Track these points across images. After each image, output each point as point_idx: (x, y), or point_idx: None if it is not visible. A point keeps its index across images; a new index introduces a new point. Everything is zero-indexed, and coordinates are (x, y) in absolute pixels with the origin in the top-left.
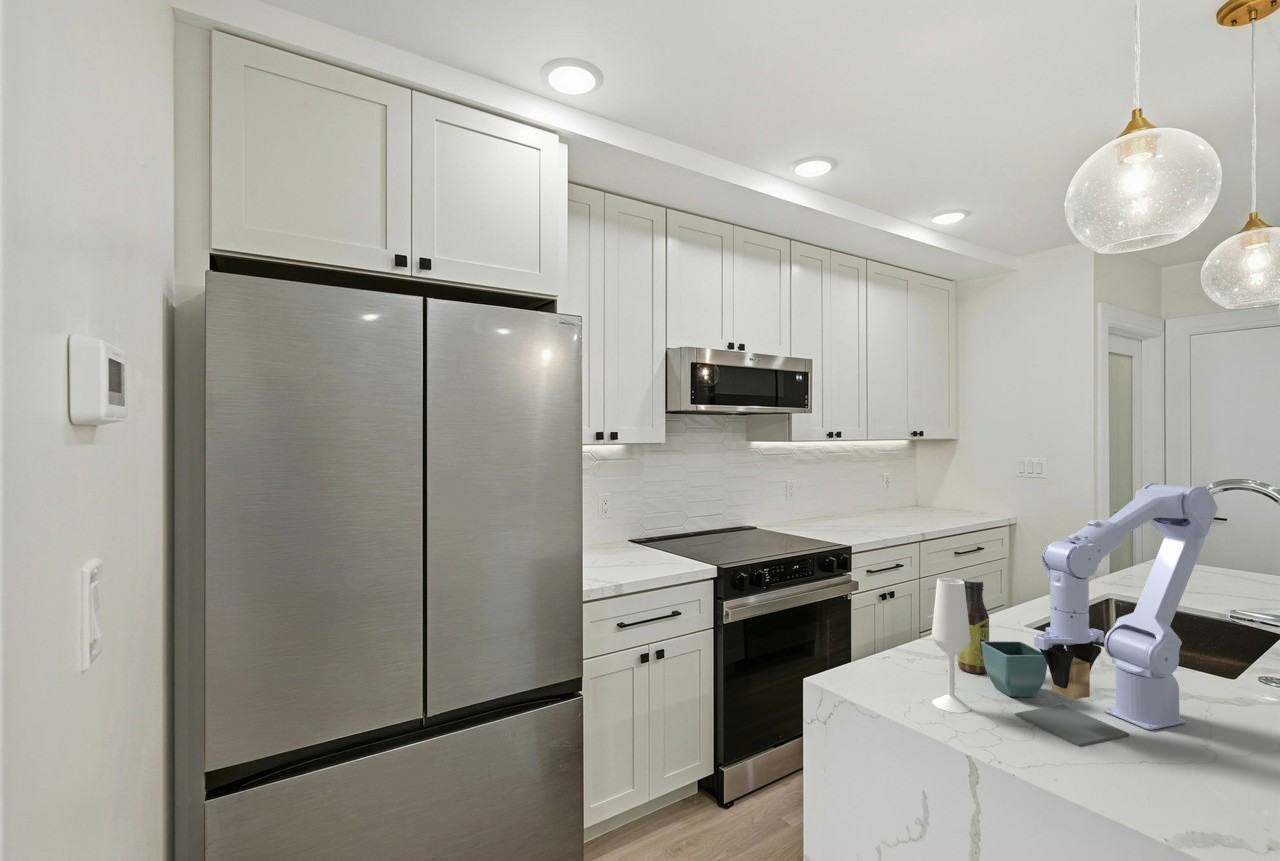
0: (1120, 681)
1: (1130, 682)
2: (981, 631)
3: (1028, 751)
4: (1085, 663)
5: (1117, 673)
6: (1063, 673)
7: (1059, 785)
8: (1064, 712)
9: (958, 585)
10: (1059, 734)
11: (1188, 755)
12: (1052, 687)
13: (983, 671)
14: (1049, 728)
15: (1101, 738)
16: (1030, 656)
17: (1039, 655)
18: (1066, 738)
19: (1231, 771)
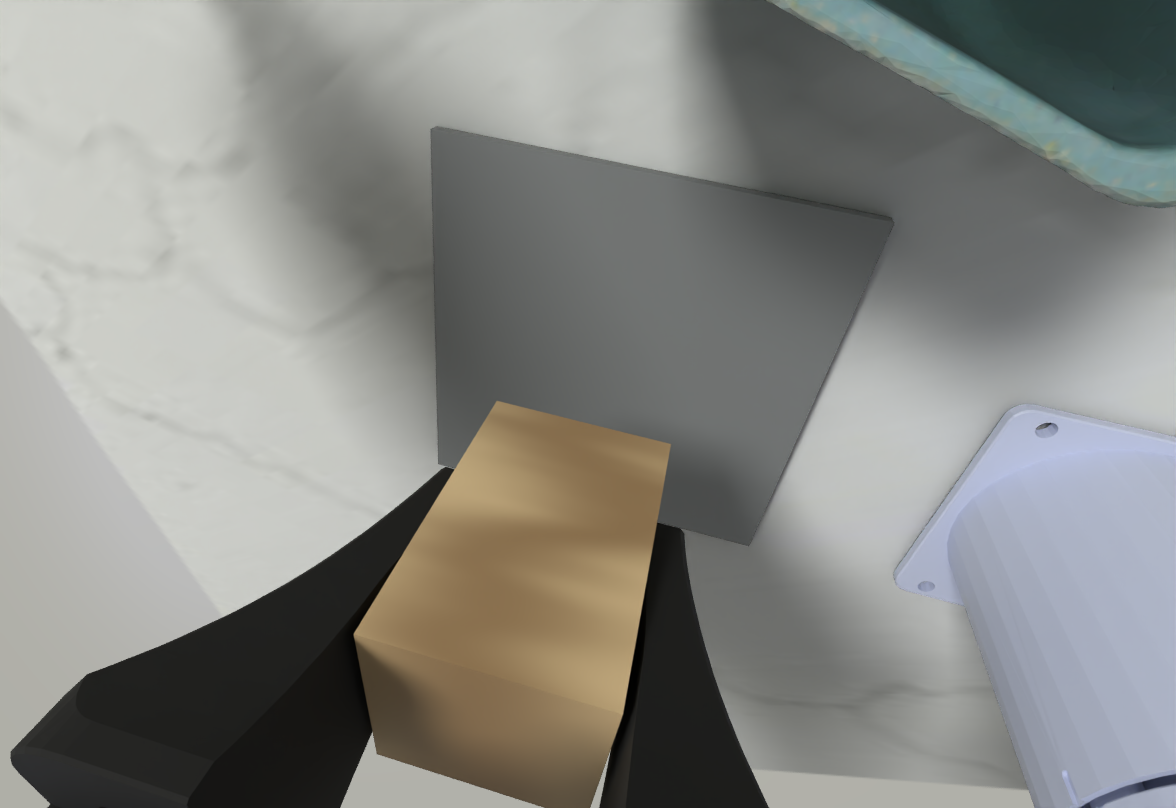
0: (1080, 676)
1: (1032, 738)
2: None
3: (216, 372)
4: (534, 803)
5: (1155, 715)
6: None
7: (176, 500)
8: (741, 293)
9: None
10: (438, 392)
11: (750, 663)
12: (489, 421)
13: None
14: (446, 344)
15: None
16: (841, 41)
17: (1035, 114)
18: (437, 421)
19: (736, 725)
